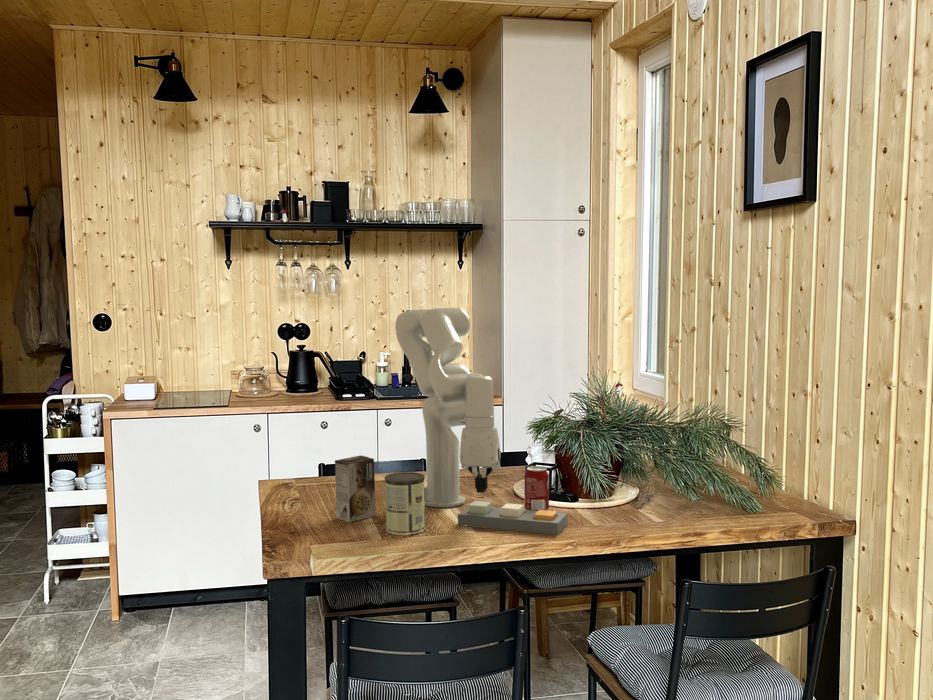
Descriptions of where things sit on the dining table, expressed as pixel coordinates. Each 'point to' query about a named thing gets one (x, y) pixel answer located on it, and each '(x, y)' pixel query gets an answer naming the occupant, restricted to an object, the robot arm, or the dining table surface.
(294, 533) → the dining table surface
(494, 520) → the button panel
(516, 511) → the cream button
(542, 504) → the soda can
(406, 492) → the coffee can
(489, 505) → the sage button
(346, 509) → the grey cardboard box
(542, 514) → the orange button
